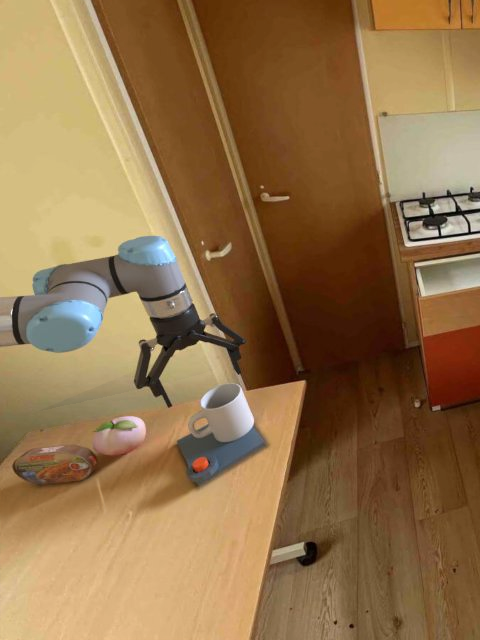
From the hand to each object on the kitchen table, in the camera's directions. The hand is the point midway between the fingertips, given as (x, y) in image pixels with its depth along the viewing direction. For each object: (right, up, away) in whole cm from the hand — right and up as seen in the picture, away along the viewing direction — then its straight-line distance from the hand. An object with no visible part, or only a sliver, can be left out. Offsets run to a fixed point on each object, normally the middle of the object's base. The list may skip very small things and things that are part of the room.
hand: (205, 387), depth 96 cm
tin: (-30, -20, -1) cm, 36 cm away
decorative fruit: (-21, -17, +5) cm, 27 cm away
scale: (0, -16, +6) cm, 17 cm away
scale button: (+1, -17, -3) cm, 17 cm away
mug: (0, -14, +7) cm, 15 cm away
